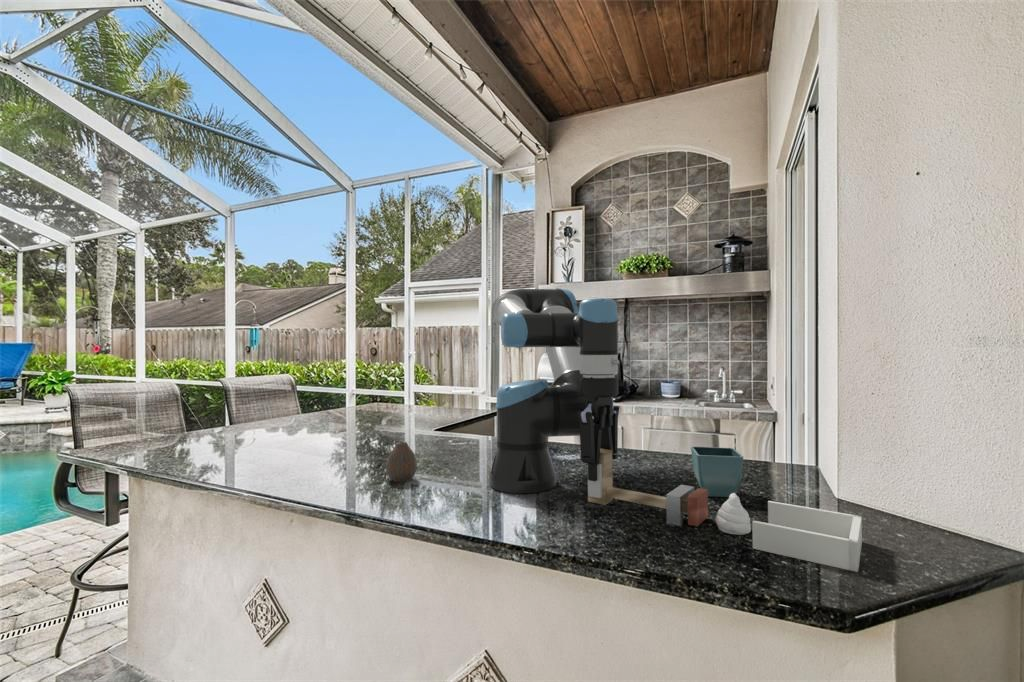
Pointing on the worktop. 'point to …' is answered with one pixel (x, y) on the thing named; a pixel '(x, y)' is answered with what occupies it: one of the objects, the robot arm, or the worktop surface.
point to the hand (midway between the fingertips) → (600, 493)
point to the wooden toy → (693, 506)
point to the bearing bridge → (677, 504)
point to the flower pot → (717, 469)
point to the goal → (810, 535)
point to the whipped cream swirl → (733, 517)
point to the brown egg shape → (401, 463)
